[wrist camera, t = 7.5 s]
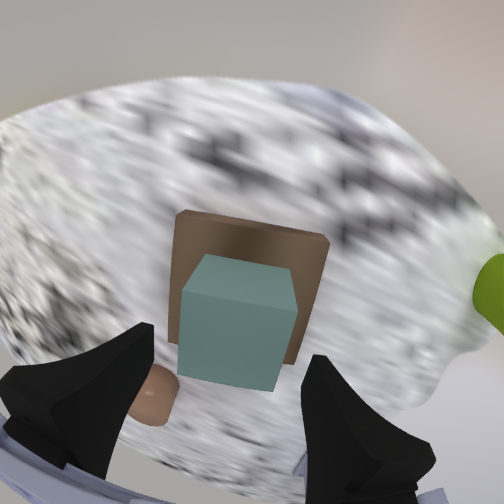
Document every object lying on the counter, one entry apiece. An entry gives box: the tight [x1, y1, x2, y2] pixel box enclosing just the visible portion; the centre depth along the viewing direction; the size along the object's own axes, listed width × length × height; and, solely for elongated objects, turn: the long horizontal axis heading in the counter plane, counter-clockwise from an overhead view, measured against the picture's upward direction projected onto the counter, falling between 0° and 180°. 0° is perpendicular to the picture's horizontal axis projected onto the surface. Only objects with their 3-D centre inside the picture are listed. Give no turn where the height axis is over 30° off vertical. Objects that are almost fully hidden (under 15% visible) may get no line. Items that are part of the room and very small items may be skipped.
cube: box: [177, 254, 298, 392], centre depth 15 cm, size 5×5×5 cm
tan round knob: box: [128, 364, 179, 426], centre depth 21 cm, size 4×4×4 cm
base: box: [168, 210, 330, 365], centre depth 18 cm, size 9×9×2 cm
